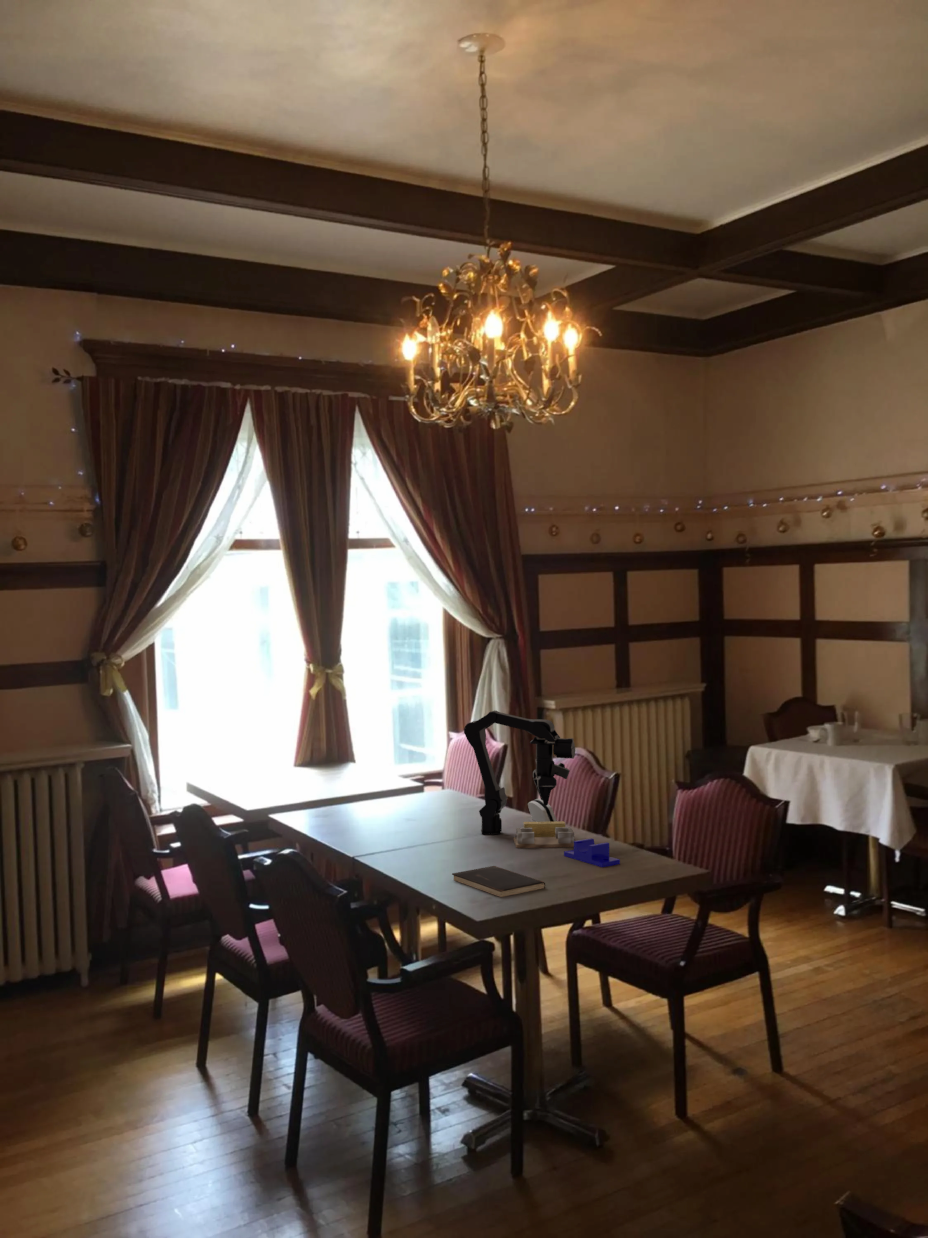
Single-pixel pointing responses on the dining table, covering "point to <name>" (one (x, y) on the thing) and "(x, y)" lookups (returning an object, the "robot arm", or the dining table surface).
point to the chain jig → (544, 838)
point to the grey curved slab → (541, 811)
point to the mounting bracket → (592, 853)
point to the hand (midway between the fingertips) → (544, 802)
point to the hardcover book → (498, 881)
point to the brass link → (544, 828)
